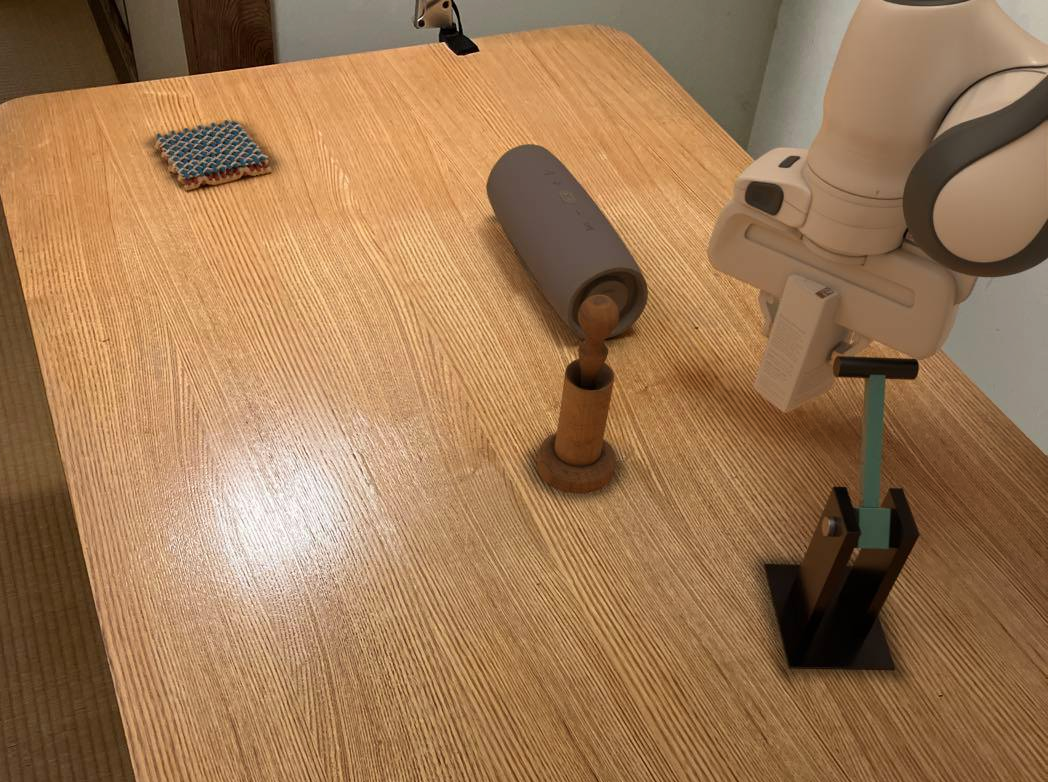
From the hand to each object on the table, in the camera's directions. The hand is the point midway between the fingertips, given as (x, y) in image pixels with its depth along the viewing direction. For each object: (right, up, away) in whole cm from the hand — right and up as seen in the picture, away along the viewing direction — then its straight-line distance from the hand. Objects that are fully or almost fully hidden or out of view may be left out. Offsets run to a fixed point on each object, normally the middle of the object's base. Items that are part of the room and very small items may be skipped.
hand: (804, 350), depth 91 cm
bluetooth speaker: (-20, +10, +20) cm, 30 cm away
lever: (0, -10, -15) cm, 18 cm away
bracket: (-1, -23, -8) cm, 24 cm away
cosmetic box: (0, -3, +4) cm, 5 cm away
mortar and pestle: (-19, -11, +1) cm, 22 cm away
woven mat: (-59, +27, +31) cm, 72 cm away
